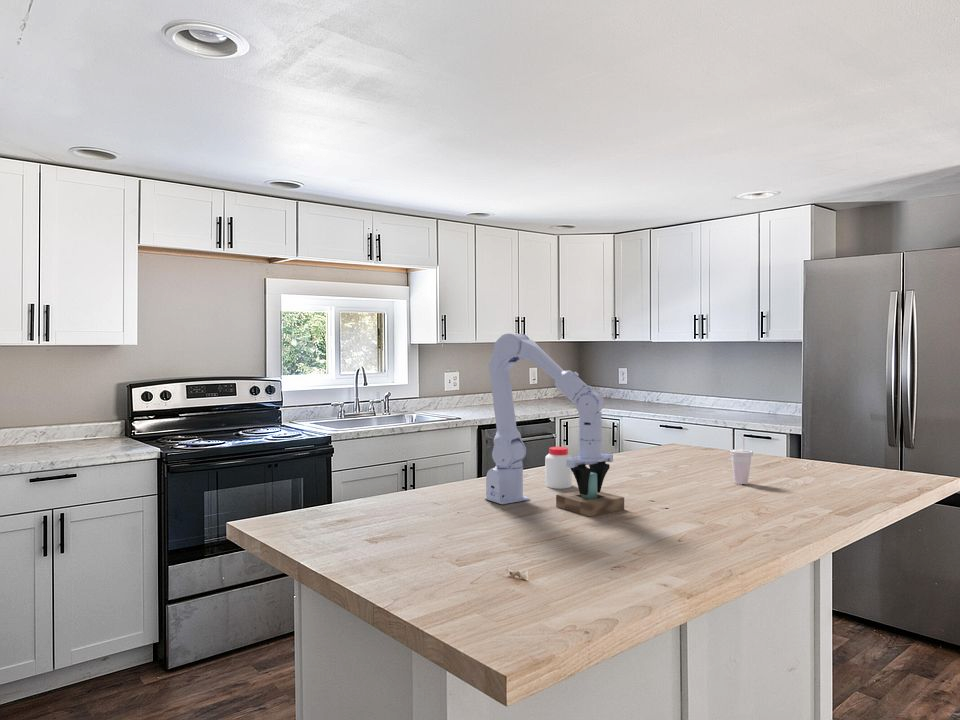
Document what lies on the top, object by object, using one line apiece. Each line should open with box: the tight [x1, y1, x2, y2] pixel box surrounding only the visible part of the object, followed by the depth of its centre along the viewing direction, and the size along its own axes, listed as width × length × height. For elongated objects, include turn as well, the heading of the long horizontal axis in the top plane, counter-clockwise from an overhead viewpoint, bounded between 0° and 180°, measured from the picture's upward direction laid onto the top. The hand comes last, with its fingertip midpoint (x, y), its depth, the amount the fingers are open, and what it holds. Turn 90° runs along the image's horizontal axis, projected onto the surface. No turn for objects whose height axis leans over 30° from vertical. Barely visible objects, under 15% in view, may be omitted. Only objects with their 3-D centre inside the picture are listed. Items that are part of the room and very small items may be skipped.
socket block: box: [555, 490, 625, 517], centre depth 169 cm, size 12×12×3 cm
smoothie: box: [729, 435, 754, 486], centre depth 198 cm, size 6×6×14 cm
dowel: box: [581, 472, 597, 500], centre depth 169 cm, size 4×4×7 cm
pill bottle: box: [544, 446, 573, 490], centre depth 195 cm, size 8×8×11 cm
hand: (589, 492), depth 169 cm, fingers closed on dowel, 4 cm apart
